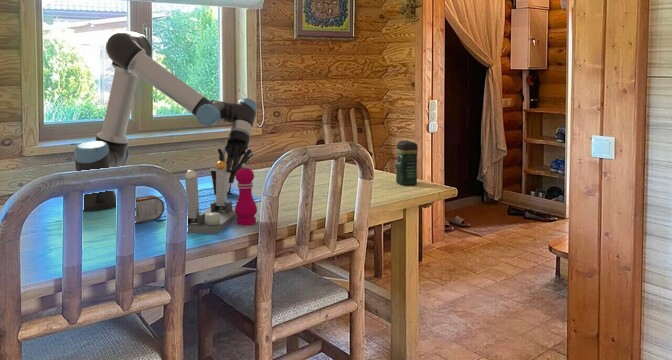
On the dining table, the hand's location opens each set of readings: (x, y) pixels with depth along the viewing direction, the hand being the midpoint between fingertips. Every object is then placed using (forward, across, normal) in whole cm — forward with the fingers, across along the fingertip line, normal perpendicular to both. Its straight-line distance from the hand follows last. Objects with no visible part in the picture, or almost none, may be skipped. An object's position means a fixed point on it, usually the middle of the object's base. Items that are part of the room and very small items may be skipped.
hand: (225, 190), depth 210 cm
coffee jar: (-37, -57, -52) cm, 86 cm away
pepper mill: (+13, -11, 0) cm, 17 cm away
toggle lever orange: (+6, 0, -2) cm, 7 cm away
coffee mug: (-16, +14, -30) cm, 37 cm away
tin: (+16, +24, +4) cm, 29 cm away
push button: (+18, -3, +10) cm, 21 cm away
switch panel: (+13, 0, +1) cm, 13 cm away
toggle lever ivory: (+18, +3, +10) cm, 21 cm away
